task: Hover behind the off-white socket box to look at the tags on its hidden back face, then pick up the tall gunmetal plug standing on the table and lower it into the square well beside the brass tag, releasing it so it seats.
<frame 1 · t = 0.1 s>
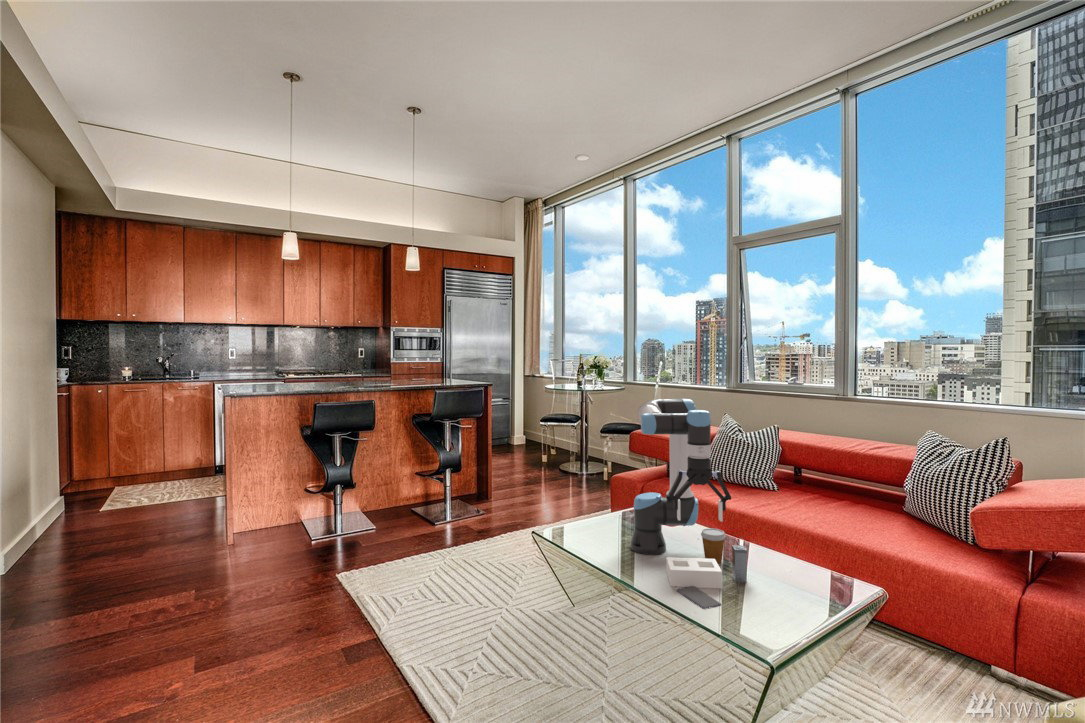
hand: (699, 519, 174), 28 cm above the table, fingers open, 13 cm apart
plug: (739, 579, 192), on the table
socket box: (693, 580, 192), on the table
disposable coffee cup: (713, 561, 210), on the table
smartphone: (698, 599, 178), on the table
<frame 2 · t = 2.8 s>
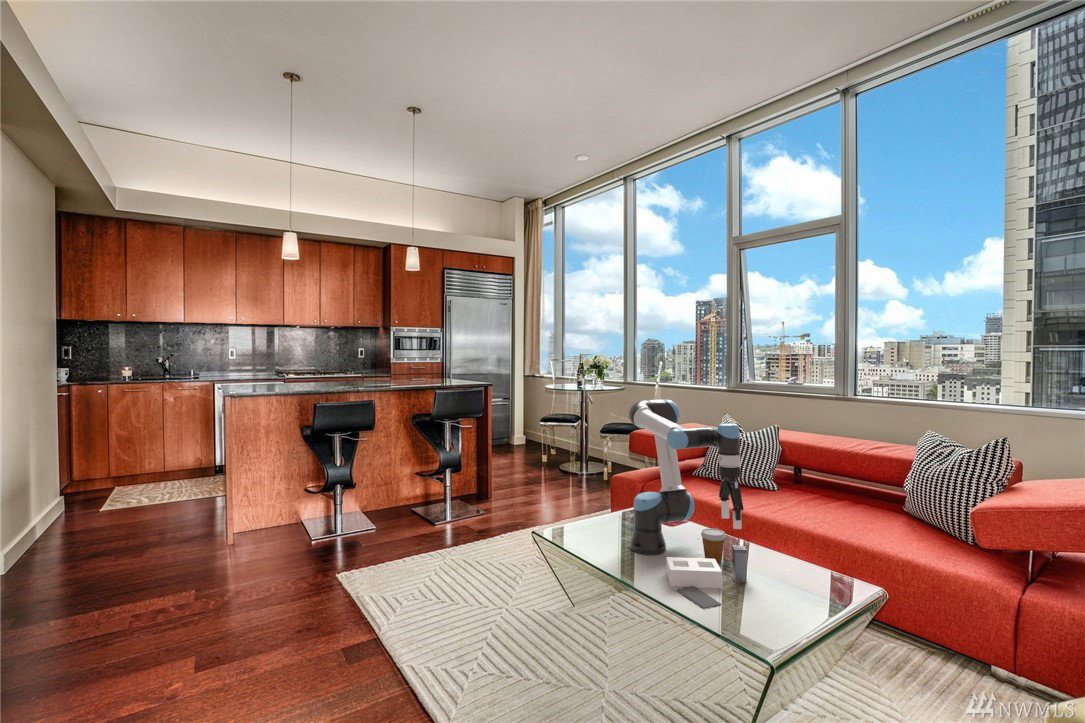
hand: (731, 523, 192), 21 cm above the table, fingers open, 13 cm apart
nothing on the table moved.
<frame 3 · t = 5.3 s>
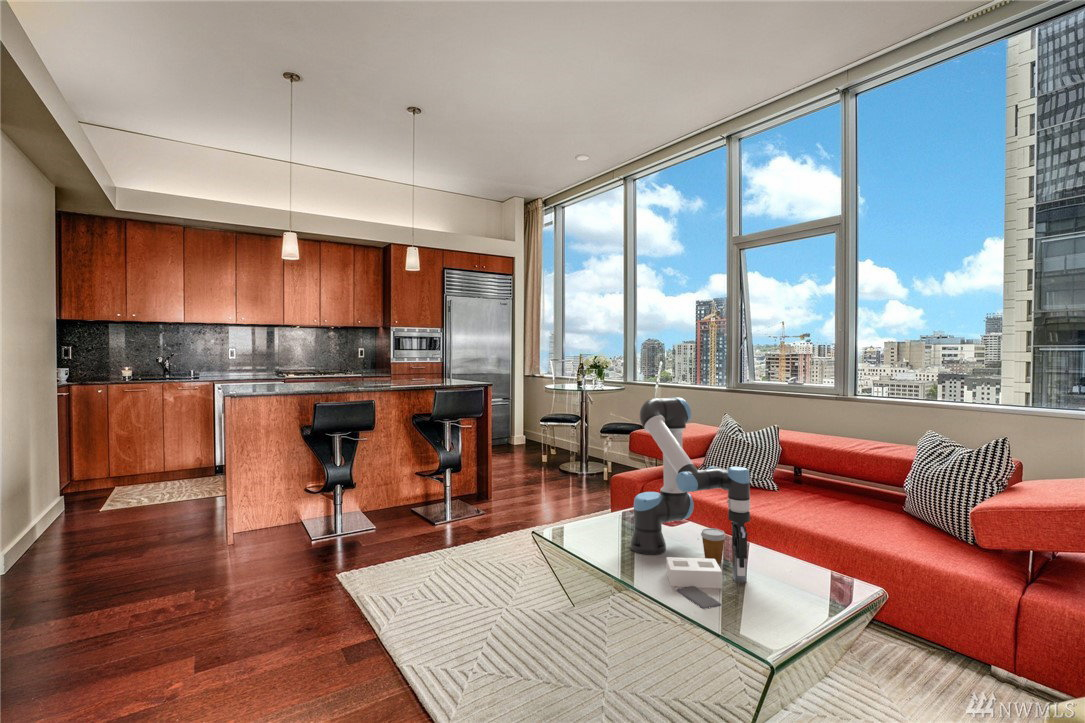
hand: (739, 572, 192), 3 cm above the table, fingers closed on plug, 4 cm apart
plug: (739, 579, 192), on the table, touching gripper
everything else where it was.
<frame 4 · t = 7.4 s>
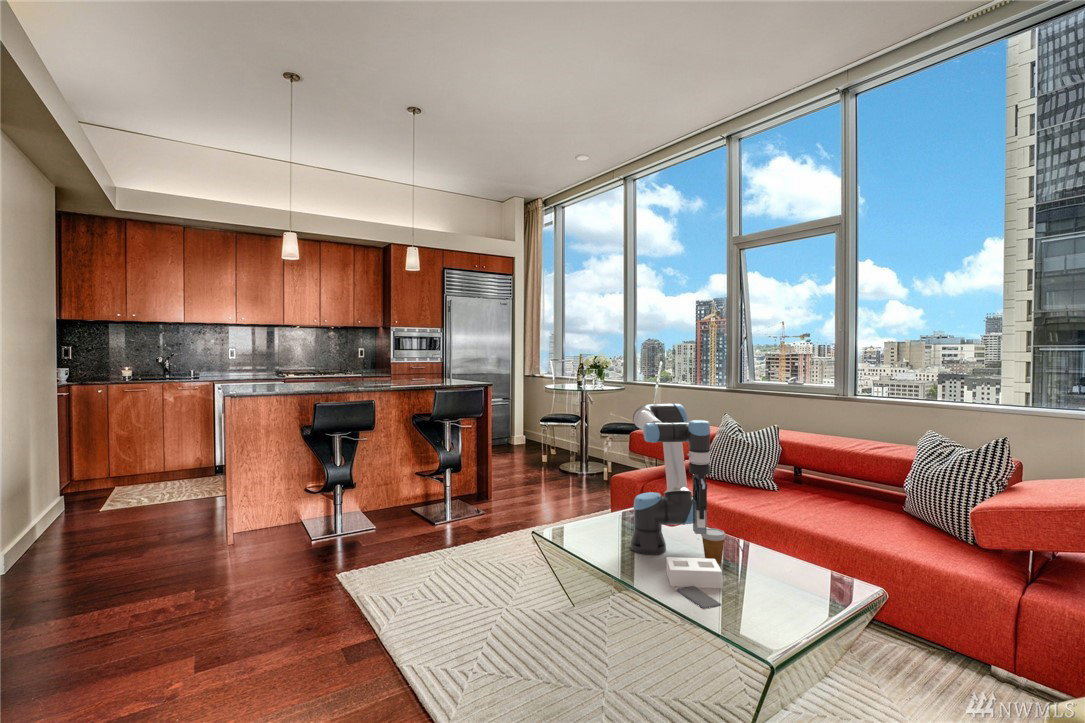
hand: (699, 525, 193), 20 cm above the table, fingers closed on plug, 4 cm apart
plug: (699, 532, 193), point 18 cm above the table, touching gripper
everything else where it was.
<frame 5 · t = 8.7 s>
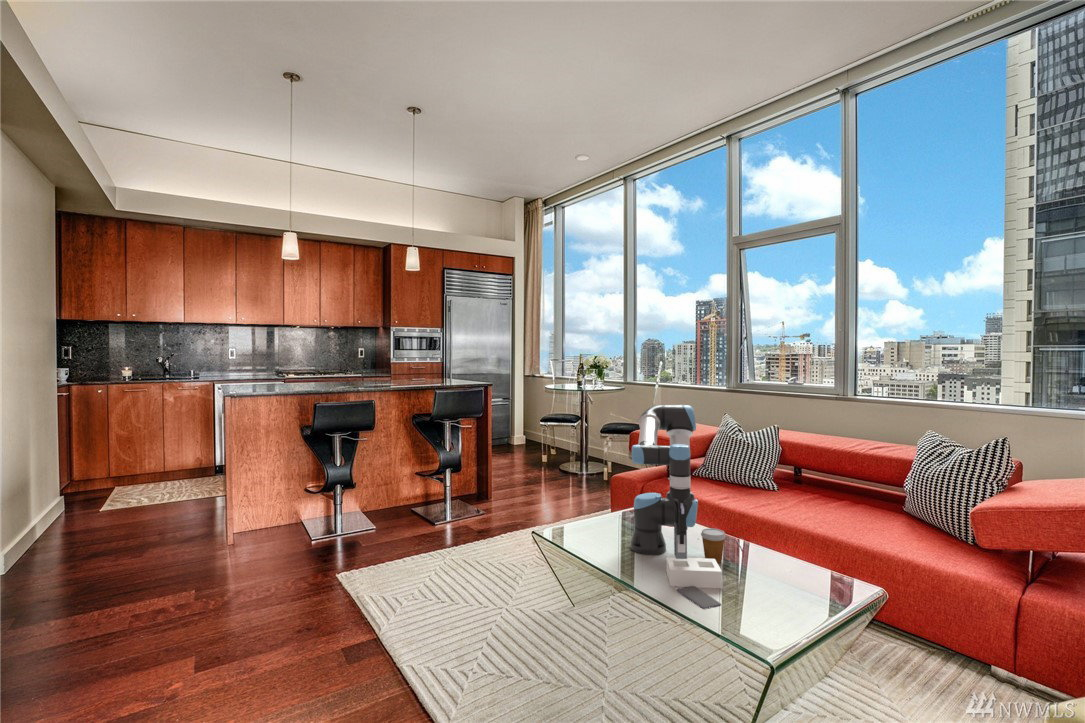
hand: (680, 549, 192), 11 cm above the table, fingers closed on plug, 4 cm apart
plug: (680, 556, 192), point 9 cm above the table, touching gripper
everything else where it was.
when the fingers open (7 cm above the table, at t = 9.8 s): plug drops 3 cm, resting on socket box.
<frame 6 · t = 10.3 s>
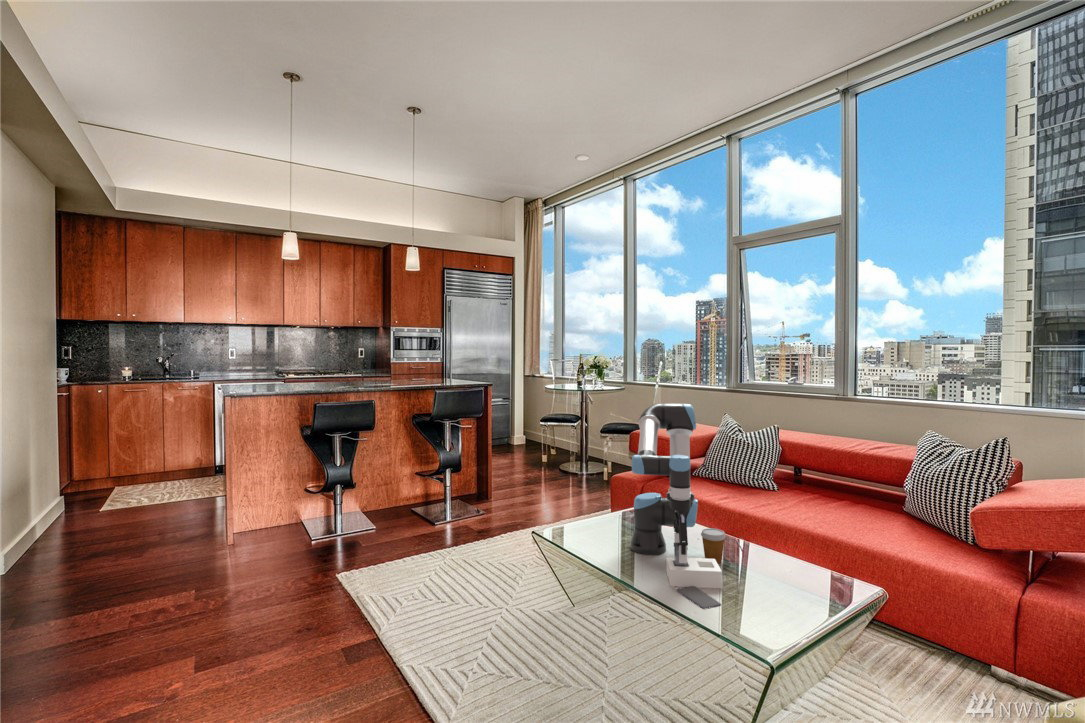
hand: (680, 556, 193), 9 cm above the table, fingers open, 11 cm apart
plug: (680, 577, 193), point 1 cm above the table, touching socket box
everything else where it was.
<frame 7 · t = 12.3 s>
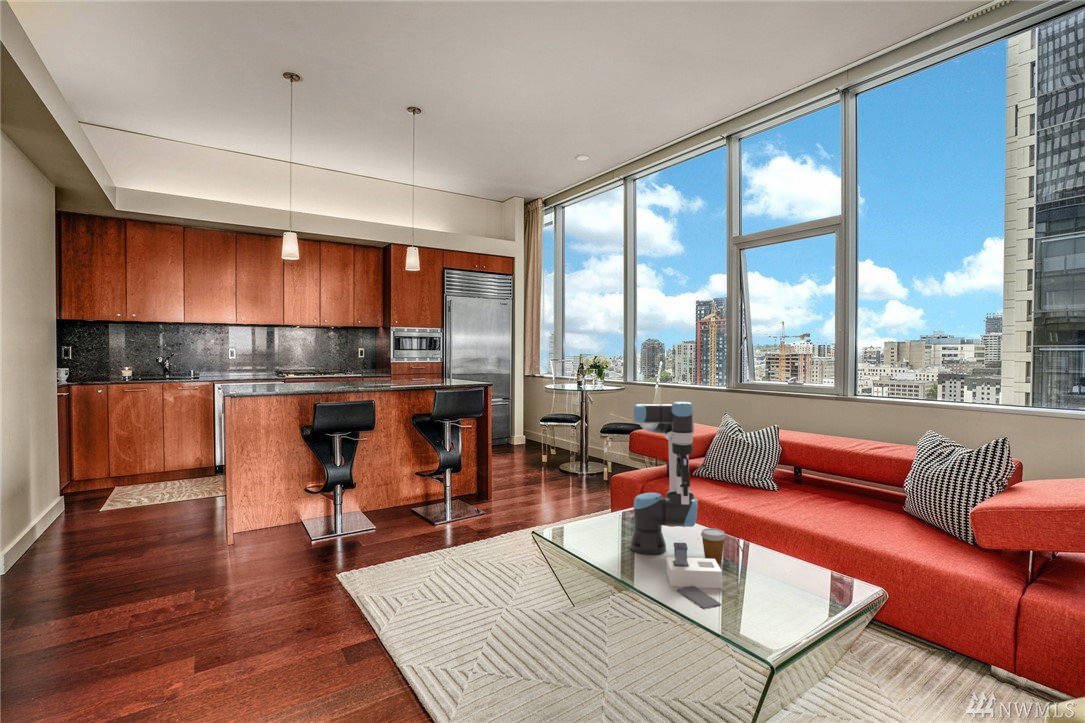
hand: (682, 498, 197), 29 cm above the table, fingers open, 13 cm apart
nothing on the table moved.
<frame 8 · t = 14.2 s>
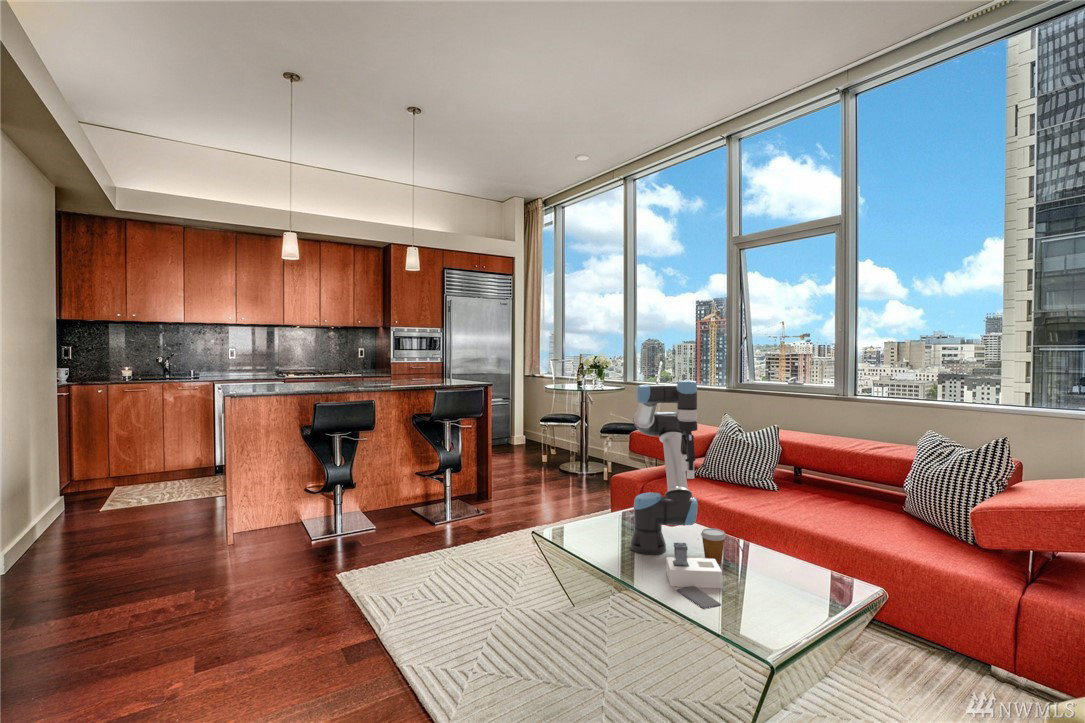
hand: (687, 474, 203), 37 cm above the table, fingers open, 13 cm apart
nothing on the table moved.
at the end: plug 0.0 cm from the target spot on the socket box, point 1.0 cm above the socket box's base; plug tilted 0°; the gripper is holding nothing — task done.
